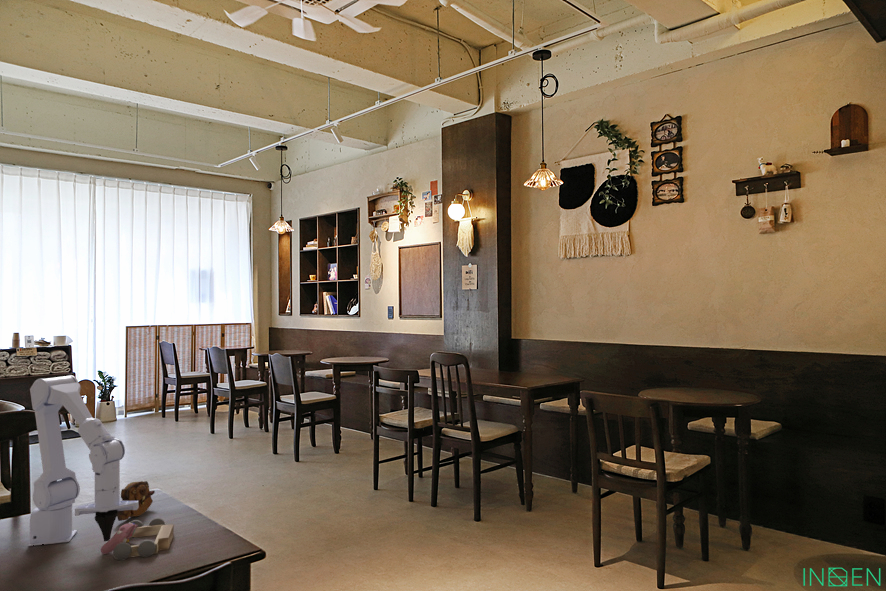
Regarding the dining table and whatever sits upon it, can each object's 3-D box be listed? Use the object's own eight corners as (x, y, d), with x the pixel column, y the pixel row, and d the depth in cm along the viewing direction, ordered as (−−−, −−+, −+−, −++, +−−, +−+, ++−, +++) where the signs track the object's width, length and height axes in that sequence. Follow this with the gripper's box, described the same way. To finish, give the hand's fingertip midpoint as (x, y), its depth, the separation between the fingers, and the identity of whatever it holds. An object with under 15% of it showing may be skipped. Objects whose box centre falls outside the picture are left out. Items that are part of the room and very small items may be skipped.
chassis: (112, 561, 151) (112, 545, 151) (127, 535, 167) (127, 520, 167) (166, 554, 154) (166, 539, 154) (175, 530, 171) (175, 515, 171)
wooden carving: (128, 526, 174) (128, 491, 174) (113, 526, 175) (113, 491, 175) (157, 506, 191) (157, 475, 191) (143, 506, 191) (143, 474, 191)
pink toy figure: (114, 560, 154) (127, 535, 155) (97, 553, 154) (110, 528, 154) (131, 545, 164) (143, 521, 164) (116, 538, 164) (128, 514, 164)
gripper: (71, 494, 152) (71, 549, 152) (134, 489, 156) (134, 542, 156) (79, 486, 159) (79, 538, 159) (140, 481, 163) (140, 532, 163)
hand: (107, 539), depth 158 cm, fingers closed
